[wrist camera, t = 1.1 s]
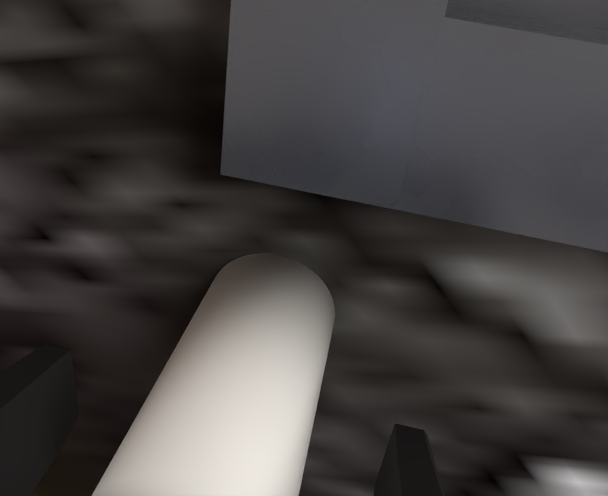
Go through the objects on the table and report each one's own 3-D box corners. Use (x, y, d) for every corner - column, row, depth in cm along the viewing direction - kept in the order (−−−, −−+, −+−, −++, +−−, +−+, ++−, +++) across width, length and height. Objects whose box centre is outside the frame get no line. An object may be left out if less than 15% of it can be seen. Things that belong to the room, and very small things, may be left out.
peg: (345, 269, 15) (296, 508, 9) (324, 368, 16) (272, 622, 11) (213, 241, 15) (76, 454, 9) (207, 342, 17) (91, 574, 11)
